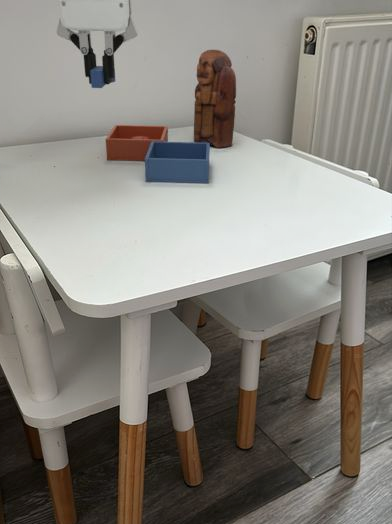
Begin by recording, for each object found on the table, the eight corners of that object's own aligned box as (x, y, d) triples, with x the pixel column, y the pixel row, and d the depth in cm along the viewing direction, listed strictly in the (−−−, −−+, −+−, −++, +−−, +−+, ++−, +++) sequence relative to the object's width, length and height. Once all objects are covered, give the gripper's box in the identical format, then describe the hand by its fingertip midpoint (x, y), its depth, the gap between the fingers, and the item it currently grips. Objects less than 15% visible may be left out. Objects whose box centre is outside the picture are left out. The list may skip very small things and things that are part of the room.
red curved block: (145, 155, 111) (145, 142, 110) (127, 154, 111) (127, 142, 110) (149, 144, 118) (149, 133, 117) (132, 144, 118) (132, 132, 117)
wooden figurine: (184, 138, 125) (184, 48, 115) (206, 134, 128) (208, 46, 118) (217, 150, 117) (221, 54, 107) (240, 145, 121) (245, 52, 111)
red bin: (106, 160, 110) (105, 139, 108) (116, 144, 120) (114, 124, 118) (163, 161, 110) (163, 140, 107) (168, 145, 120) (167, 126, 118)
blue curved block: (108, 88, 84) (107, 70, 83) (84, 87, 84) (83, 70, 83) (117, 79, 91) (116, 63, 90) (95, 79, 91) (94, 62, 90)
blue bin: (145, 181, 99) (144, 158, 97) (152, 162, 109) (151, 141, 107) (208, 183, 99) (209, 160, 97) (209, 163, 109) (209, 142, 107)
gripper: (150, -61, 80) (153, 80, 90) (41, -64, 80) (56, 77, 90) (144, -64, 74) (148, 88, 84) (26, -67, 74) (44, 85, 84)
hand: (100, 81), depth 87 cm, fingers closed on blue curved block, 1 cm apart
